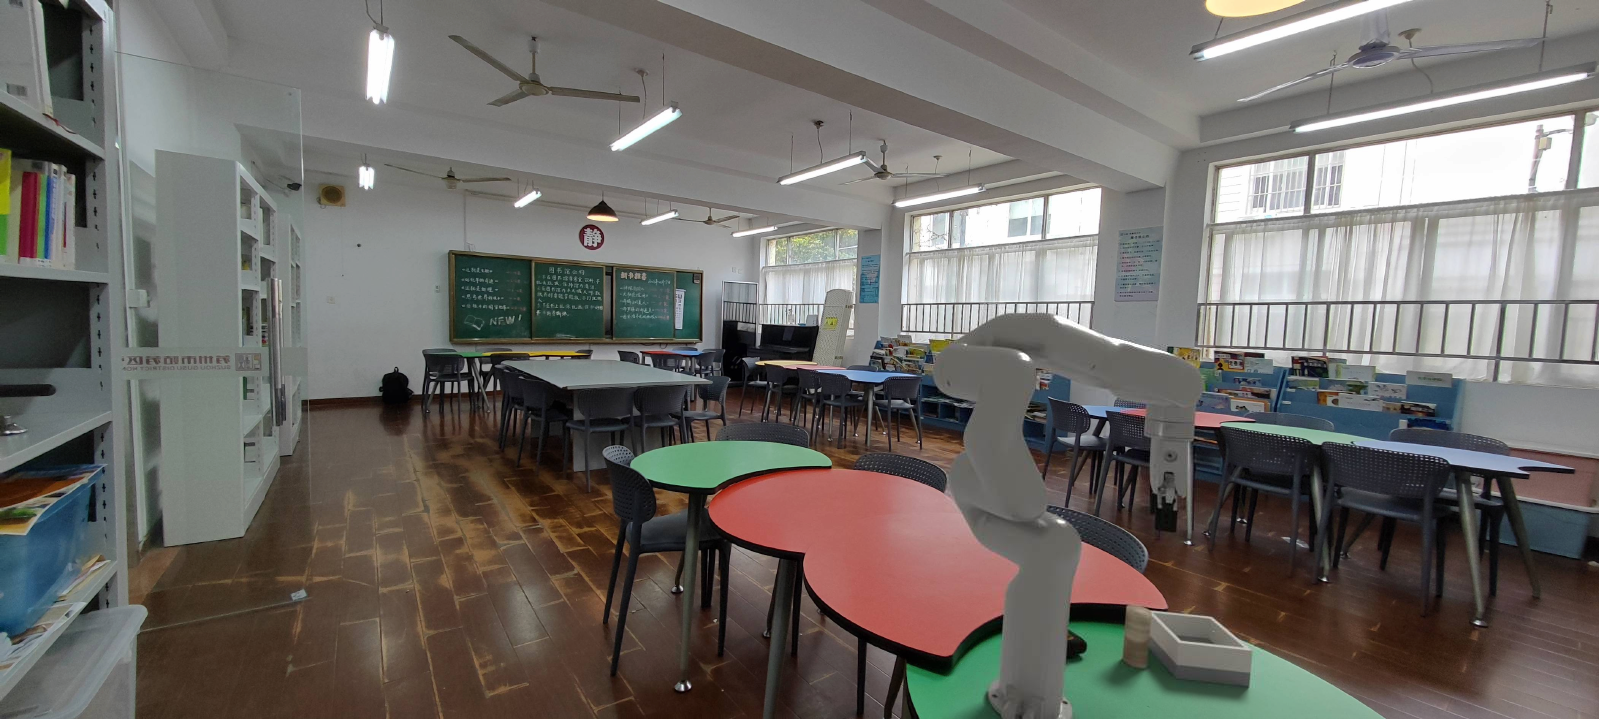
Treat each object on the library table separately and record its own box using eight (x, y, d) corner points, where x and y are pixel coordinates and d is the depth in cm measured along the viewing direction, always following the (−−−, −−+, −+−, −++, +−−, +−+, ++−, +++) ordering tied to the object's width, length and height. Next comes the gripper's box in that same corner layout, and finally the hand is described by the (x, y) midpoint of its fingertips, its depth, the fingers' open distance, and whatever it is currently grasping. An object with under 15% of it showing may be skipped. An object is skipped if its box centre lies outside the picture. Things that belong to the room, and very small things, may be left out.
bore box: (1249, 686, 100) (1252, 650, 99) (1175, 678, 101) (1178, 642, 101) (1208, 649, 112) (1211, 616, 111) (1143, 642, 113) (1146, 610, 113)
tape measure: (1088, 658, 106) (1089, 639, 106) (1058, 663, 104) (1060, 643, 104) (1061, 639, 113) (1062, 620, 113) (1032, 643, 111) (1034, 624, 111)
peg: (1146, 671, 103) (1151, 617, 102) (1121, 663, 105) (1125, 610, 105) (1147, 661, 106) (1152, 609, 106) (1123, 653, 108) (1127, 602, 108)
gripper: (1201, 440, 93) (1194, 542, 94) (1187, 425, 109) (1181, 513, 110) (1148, 434, 97) (1141, 533, 98) (1141, 421, 112) (1135, 506, 113)
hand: (1162, 522), depth 104 cm, fingers open, 9 cm apart
